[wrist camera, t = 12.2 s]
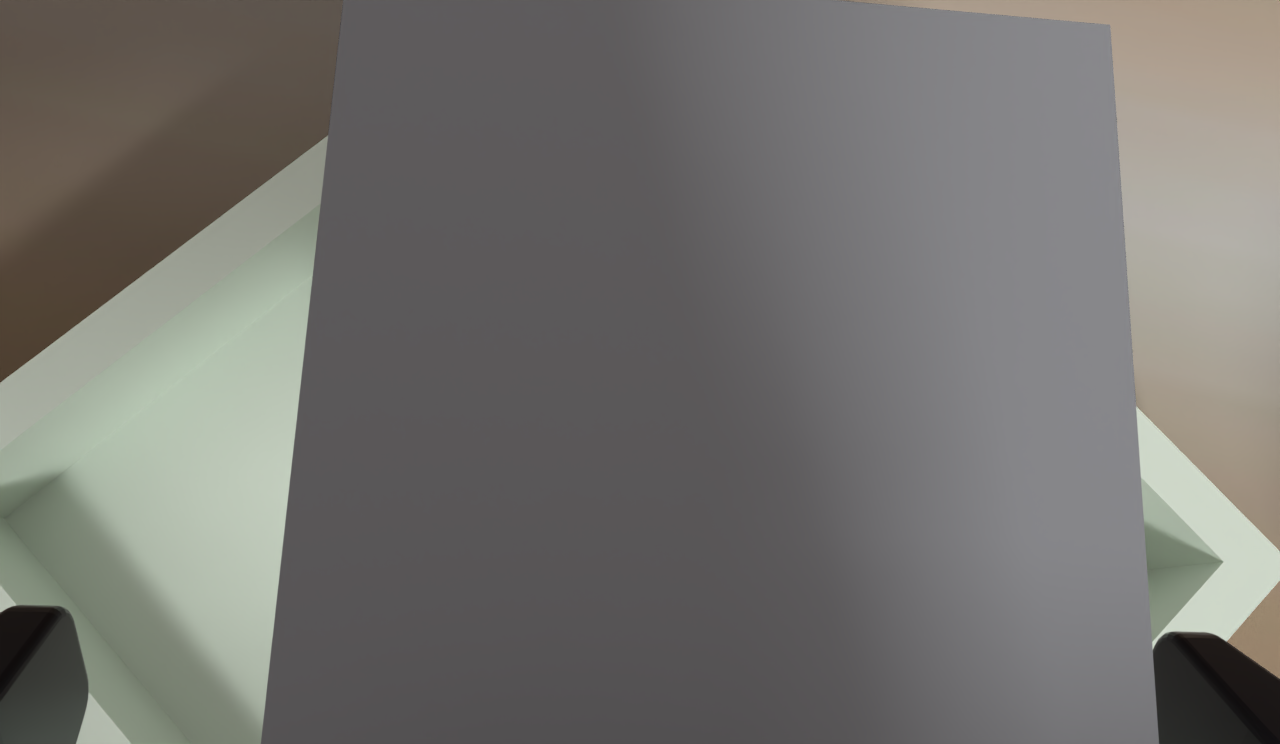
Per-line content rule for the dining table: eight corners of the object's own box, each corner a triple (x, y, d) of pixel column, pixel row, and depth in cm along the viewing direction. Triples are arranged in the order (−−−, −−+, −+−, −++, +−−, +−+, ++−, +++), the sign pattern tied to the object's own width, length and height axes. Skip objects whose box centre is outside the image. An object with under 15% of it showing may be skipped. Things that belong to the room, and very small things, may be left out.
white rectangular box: (744, 704, 18) (1183, 844, 6) (433, 693, 18) (231, 822, 6) (749, 403, 19) (1122, 11, 7) (457, 386, 19) (334, -60, 7)
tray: (566, 1267, 17) (574, 1390, 14) (-52, 518, 18) (-154, 498, 15) (1189, 574, 20) (1293, 564, 17) (623, -6, 22) (637, -98, 19)
